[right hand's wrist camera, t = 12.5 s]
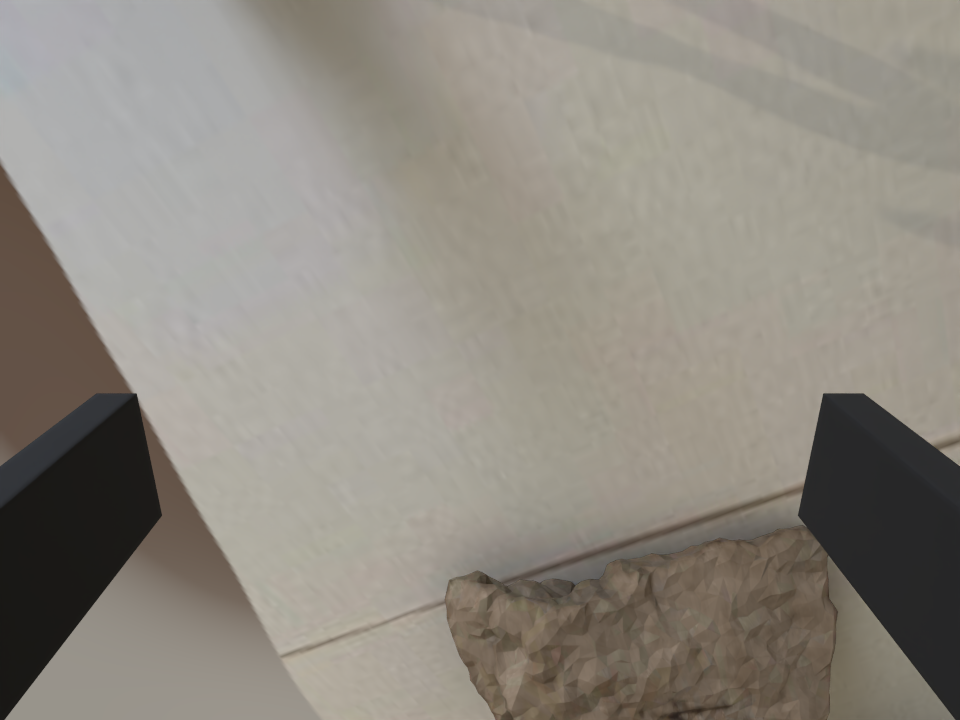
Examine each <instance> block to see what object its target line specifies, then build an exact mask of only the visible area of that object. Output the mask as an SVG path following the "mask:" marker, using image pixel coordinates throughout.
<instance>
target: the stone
mask: <svg viewBox="0 0 960 720" xmlns="http://www.w3.org/2000/svg"><path fill="white" fill-rule="evenodd" d="M827 556H828V554H827V552H826V551H825V550H824V549H823V547H822V546H821V545H820V543H819V542H818V541H817V539H816V538H815V537H814V536H813V534H812V533H811V532H810V530H809V529H808V528H807V527H805V526H803V525H801V526H796V527H793V528H789V529H778V530H776V531H775V532H773V533H770V534H766V535H763V536H761V537H758V538H755V539H753V540H733V541H731V540H727V539H722V538H718V539H716V540H713V541H708V542H704V543H703V544H701V545H699V546H690V547H689V548H687V549H686V550H684V551H682V552H677V553H673V554H668V555H656V554H649V555H647V556H644V557H641V558H635V559H628V560H624V559H619V560H615V561H614V562H611V563H609V564H608V565H607V567H606V569H605V572H604V575H603V576H602V577H601V578H600V579H599V580H594V579H588V580H585V581H581V582H580V583H579V584H577V585H576V586H575V585H574V584H573V583H572V582H569V581H564V580H559V579H549V580H544V581H543V582H541V583H538V582H536V581H533V580H532V581H527V580H518V581H517V582H516V583H513V584H511V585H509V586H504V585H503V583H501V582H499V581H497V580H495V579H493V578H491V577H489V576H487V575H486V574H484V573H482V572H480V571H475V572H473V573H471V574H468V575H466V576H462V577H456V578H453V579H451V580H449V583H448V588H447V592H446V597H445V602H446V607H447V621H448V624H449V627H450V630H451V633H452V636H453V639H454V642H455V644H456V647H457V650H458V653H459V655H460V657H461V659H462V661H463V662H464V664H465V665H466V666H467V667H468V670H469V673H470V681H471V682H472V683H473V684H474V685H475V687H476V689H477V691H478V693H479V694H480V695H481V696H482V697H483V698H484V700H485V701H486V702H487V703H488V705H489V707H490V710H491V712H492V713H493V714H494V717H495V720H827V717H828V715H829V712H830V695H829V686H830V667H831V661H832V657H833V654H834V649H835V642H836V620H837V613H838V611H837V609H836V608H835V606H834V605H833V604H832V602H831V601H830V599H829V587H828V581H829V579H828V572H827Z"/></svg>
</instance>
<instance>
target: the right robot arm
mask: <svg viewBox="0 0 960 720" xmlns="http://www.w3.org/2000/svg"><path fill="white" fill-rule="evenodd" d="M161 516H162V513H161V509H160V504H159V499H158V494H157V489H156V485H155V480H154V475H153V470H152V465H151V461H150V456H149V451H148V446H147V441H146V436H145V432H144V427H143V422H142V417H141V412H140V408H139V403H138V398H137V394H95V395H94V396H93V397H91V398H90V399H89V400H87V401H86V402H85V403H83V404H82V405H81V406H79V407H78V408H77V409H75V410H74V411H73V412H72V413H70V414H69V415H67V416H66V417H65V418H64V419H62V420H61V421H60V422H58V423H57V424H56V425H54V426H53V427H52V428H50V429H49V430H48V431H46V432H45V433H44V434H42V435H41V436H40V437H38V438H37V439H36V440H34V441H33V442H32V443H30V444H29V445H28V446H27V447H25V448H24V449H23V450H21V451H20V452H19V453H17V454H16V455H15V456H13V457H12V458H11V459H9V460H8V461H7V462H5V463H4V464H3V465H1V466H0V720H5V718H6V717H7V716H8V714H9V713H10V712H11V711H12V709H13V708H14V707H15V705H16V704H17V703H18V701H19V700H20V699H21V698H22V696H23V695H24V694H25V692H26V691H27V690H28V688H29V687H30V686H31V685H32V683H33V682H34V681H35V679H36V678H37V677H38V675H39V674H40V673H41V672H42V670H43V669H44V668H45V666H46V665H47V664H48V663H49V661H50V660H51V659H52V657H53V656H54V655H55V653H56V652H57V651H58V650H59V648H60V647H61V646H62V644H63V643H64V642H65V641H66V639H67V638H68V637H69V635H70V634H71V633H72V631H73V630H74V629H75V628H76V626H77V625H78V624H79V622H80V621H81V620H82V618H83V617H84V616H85V615H86V613H87V612H88V611H89V609H90V608H91V607H92V605H93V604H94V603H95V602H96V600H97V599H98V598H99V596H100V595H101V594H102V593H103V591H104V590H105V589H106V587H107V586H108V585H109V584H110V582H111V581H112V580H113V578H114V577H115V576H116V574H117V573H118V572H119V571H120V569H121V568H122V567H123V565H124V564H125V563H126V561H127V560H128V559H129V558H130V556H131V555H132V554H133V552H134V551H135V550H136V549H137V547H138V546H139V545H140V543H141V542H142V541H143V539H144V538H145V537H146V536H147V534H148V533H149V532H150V530H151V529H152V528H153V526H154V525H155V524H156V523H157V521H158V520H159V519H160V517H161ZM798 516H799V517H800V519H801V520H802V521H803V523H804V524H805V525H806V526H807V528H808V529H809V530H810V532H811V533H812V534H813V536H814V537H815V538H816V539H817V541H818V542H819V543H820V545H821V546H822V547H823V549H824V550H825V551H826V552H827V554H828V555H829V556H830V558H831V559H832V560H833V561H834V563H835V564H836V565H837V567H838V568H839V569H840V571H841V572H842V573H843V574H844V576H845V577H846V578H847V580H848V581H849V582H850V584H851V585H852V586H853V587H854V589H855V590H856V591H857V593H858V594H859V595H860V596H861V598H862V599H863V600H864V602H865V603H866V604H867V606H868V607H869V608H870V609H871V611H872V612H873V613H874V615H875V616H876V617H877V619H878V620H879V621H880V622H881V624H882V625H883V626H884V628H885V629H886V630H887V631H888V633H889V634H890V635H891V637H892V638H893V639H894V641H895V642H896V643H897V644H898V646H899V647H900V648H901V650H902V651H903V652H904V654H905V655H906V656H907V657H908V659H909V660H910V661H911V663H912V664H913V665H914V666H915V668H916V669H917V670H918V672H919V673H920V674H921V676H922V677H923V678H924V679H925V681H926V682H927V683H928V685H929V686H930V687H931V689H932V690H933V691H934V692H935V694H936V695H937V696H938V698H939V699H940V700H941V701H942V703H943V704H944V705H945V707H946V708H947V709H948V711H949V712H950V713H951V714H952V716H953V717H954V718H955V720H960V466H959V465H957V464H956V463H955V462H953V461H952V460H951V459H949V458H948V457H947V456H945V455H944V454H943V453H941V452H940V451H939V450H937V449H936V448H935V447H933V446H932V445H931V444H930V443H928V442H927V441H926V440H924V439H923V438H922V437H920V436H919V435H918V434H916V433H915V432H914V431H912V430H911V429H910V428H908V427H907V426H906V425H904V424H903V423H902V422H900V421H899V420H898V419H896V418H895V417H894V416H893V415H891V414H890V413H889V412H887V411H886V410H885V409H883V408H882V407H881V406H879V405H878V404H877V403H875V402H874V401H873V400H871V399H870V398H869V397H867V396H866V395H865V394H823V398H822V403H821V408H820V412H819V417H818V422H817V427H816V432H815V436H814V441H813V446H812V451H811V456H810V460H809V465H808V470H807V475H806V480H805V484H804V489H803V494H802V499H801V504H800V509H799V513H798Z"/></svg>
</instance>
